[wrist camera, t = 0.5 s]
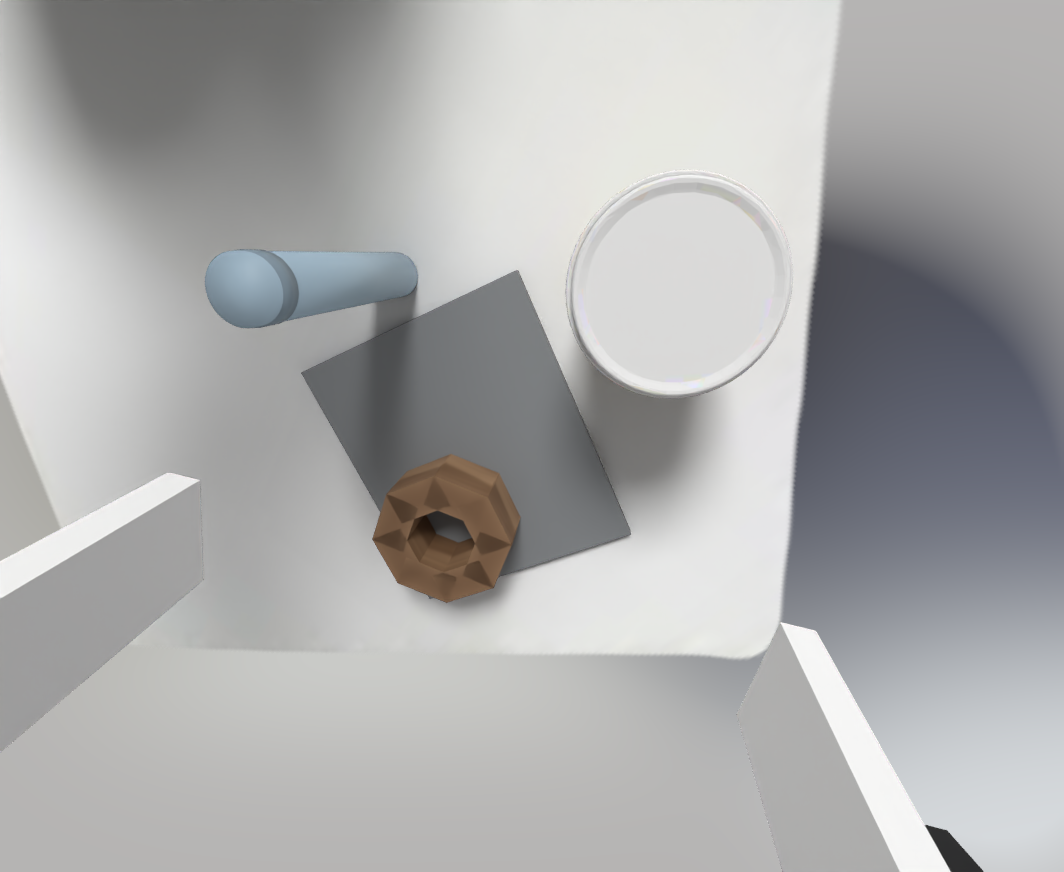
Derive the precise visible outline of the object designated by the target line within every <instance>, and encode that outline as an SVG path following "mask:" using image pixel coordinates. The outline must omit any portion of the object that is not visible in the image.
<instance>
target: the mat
mask: <svg viewBox="0 0 1064 872" xmlns="http://www.w3.org/2000/svg"><path fill="white" fill-rule="evenodd" d="M302 375H303V377H304V379H305V381H306V382H307V384H308V386H309V388H310V389H311V391H312V393H313V395H314V396H315V398H316V400H317V402H318V403H319V405H320V407H321V409H322V410H323V412H324V414H325V416H326V417H327V419H328V421H329V423H330V424H331V426H332V428H333V430H334V431H335V433H336V435H337V437H338V438H339V440H340V442H341V444H342V446H343V447H344V449H345V451H346V453H347V454H348V456H349V458H350V460H351V461H352V463H353V465H354V467H355V468H356V470H357V472H358V474H359V475H360V477H361V479H362V481H363V482H364V484H365V486H366V488H367V489H368V491H369V493H370V495H371V496H372V498H373V500H374V502H375V503H376V505H377V507H378V509H379V511H380V512H381V510H382V506H383V503H384V500H385V497H386V494H387V493H388V492H389V490H390V489H391V488H392V487H393V486H394V485H395V484H396V483H397V482H398V480H399V479H400V478H401V477H402V476H403V475H404V474H405V473H406V472H407V471H409V470H411V469H414V468H416V467H419V466H422V465H424V464H427V463H429V462H432V461H434V460H437V459H439V458H442V457H444V456H447V455H449V454H453V455H455V456H458V457H460V458H463V459H465V460H467V461H470V462H472V463H475V464H477V465H480V466H482V467H485V468H487V469H490V470H492V471H495V472H497V473H499V474H500V476H501V478H502V480H503V482H504V484H505V486H506V488H507V490H508V492H509V494H510V496H511V499H512V501H513V503H514V505H515V507H516V509H517V511H518V513H519V515H520V516H521V518H520V521H519V524H518V527H517V530H516V534H515V537H514V540H513V543H512V545H511V548H510V550H509V552H508V555H507V557H506V559H505V562H504V564H503V566H502V569H501V571H500V574H499V576H498V577H500V576H503V575H506V574H509V573H512V572H515V571H518V570H521V569H524V568H528V567H531V566H534V565H537V564H540V563H543V562H546V561H549V560H553V559H556V558H559V557H562V556H565V555H568V554H571V553H574V552H578V551H581V550H584V549H587V548H590V547H593V546H596V545H599V544H602V543H606V542H609V541H612V540H615V539H618V538H621V537H624V536H627V535H631V531H630V528H629V526H628V524H627V521H626V519H625V517H624V514H623V512H622V510H621V507H620V505H619V503H618V501H617V498H616V496H615V494H614V491H613V489H612V487H611V484H610V482H609V480H608V477H607V475H606V473H605V470H604V468H603V466H602V463H601V461H600V459H599V457H598V454H597V452H596V450H595V447H594V445H593V443H592V440H591V438H590V436H589V433H588V431H587V429H586V426H585V424H584V422H583V420H582V417H581V415H580V413H579V410H578V408H577V406H576V403H575V401H574V399H573V396H572V394H571V392H570V389H569V387H568V385H567V382H566V380H565V378H564V376H563V373H562V371H561V369H560V366H559V364H558V362H557V359H556V357H555V355H554V352H553V350H552V348H551V345H550V343H549V341H548V339H547V336H546V334H545V332H544V329H543V327H542V325H541V322H540V320H539V318H538V315H537V313H536V311H535V308H534V306H533V304H532V301H531V299H530V297H529V295H528V292H527V290H526V288H525V285H524V283H523V281H522V278H521V276H520V274H519V271H518V270H516V271H514V272H512V273H510V274H508V275H505V276H503V277H501V278H499V279H497V280H495V281H493V282H491V283H489V284H487V285H484V286H482V287H480V288H478V289H476V290H474V291H472V292H470V293H468V294H466V295H463V296H461V297H459V298H457V299H455V300H453V301H451V302H449V303H447V304H444V305H442V306H440V307H438V308H436V309H434V310H432V311H430V312H428V313H426V314H423V315H421V316H419V317H417V318H415V319H413V320H411V321H409V322H407V323H405V324H402V325H400V326H398V327H396V328H394V329H392V330H390V331H388V332H386V333H384V334H381V335H379V336H377V337H375V338H373V339H371V340H369V341H367V342H365V343H363V344H360V345H358V346H356V347H354V348H352V349H350V350H348V351H346V352H344V353H342V354H339V355H337V356H335V357H333V358H331V359H329V360H327V361H325V362H323V363H321V364H318V365H316V366H314V367H312V368H310V369H308V370H306V371H304V372H302ZM427 517H428V519H429V521H430V523H431V525H432V526H433V528H434V530H435V532H436V534H439V535H441V536H444V537H446V538H448V539H451V540H453V541H456V542H458V543H459V542H462V541H465V540H467V539H470V538H472V537H471V535H470V533H469V531H468V529H467V527H466V525H465V523H464V521H463V520H460V519H458V518H455V517H453V516H450V515H448V514H445V513H443V512H440V511H435V512H432V513H429V514H427ZM428 597H429V598H430V599H431V598H434V597H431V596H429V595H428Z"/></svg>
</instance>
